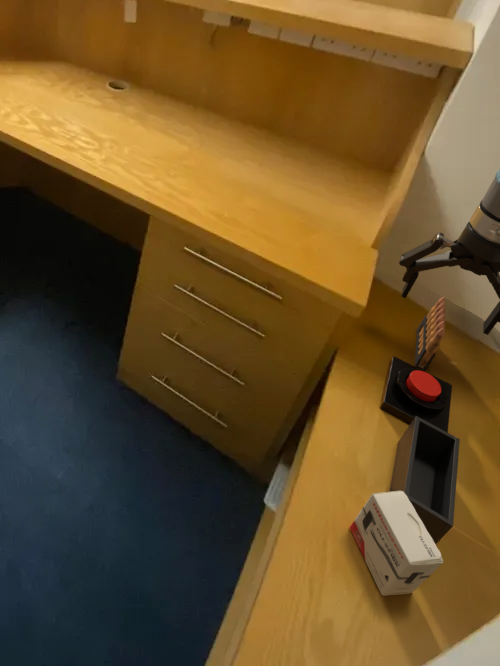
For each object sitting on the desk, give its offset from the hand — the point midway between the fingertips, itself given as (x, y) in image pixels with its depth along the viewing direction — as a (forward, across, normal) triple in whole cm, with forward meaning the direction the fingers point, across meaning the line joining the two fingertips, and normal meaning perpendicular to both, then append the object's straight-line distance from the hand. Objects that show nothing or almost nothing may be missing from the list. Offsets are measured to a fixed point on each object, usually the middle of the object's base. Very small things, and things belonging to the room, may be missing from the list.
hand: (443, 310), depth 101 cm
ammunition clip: (+12, 0, 0) cm, 12 cm away
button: (+9, +1, -14) cm, 16 cm away
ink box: (+12, -1, -46) cm, 47 cm away
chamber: (+12, +2, -32) cm, 34 cm away
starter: (+12, +1, -14) cm, 18 cm away
